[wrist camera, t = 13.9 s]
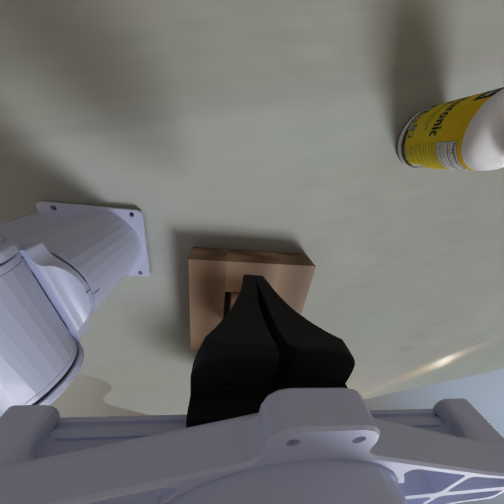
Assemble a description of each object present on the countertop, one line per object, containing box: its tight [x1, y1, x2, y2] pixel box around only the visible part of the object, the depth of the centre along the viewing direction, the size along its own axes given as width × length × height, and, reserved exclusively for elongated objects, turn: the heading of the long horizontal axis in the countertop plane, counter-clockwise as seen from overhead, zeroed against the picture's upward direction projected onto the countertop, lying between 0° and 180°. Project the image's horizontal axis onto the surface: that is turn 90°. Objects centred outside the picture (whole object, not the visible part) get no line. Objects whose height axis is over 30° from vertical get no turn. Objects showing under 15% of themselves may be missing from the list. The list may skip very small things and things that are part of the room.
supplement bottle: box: [398, 87, 504, 171], centre depth 15 cm, size 5×5×10 cm
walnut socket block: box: [188, 247, 315, 351], centre depth 25 cm, size 14×14×3 cm
